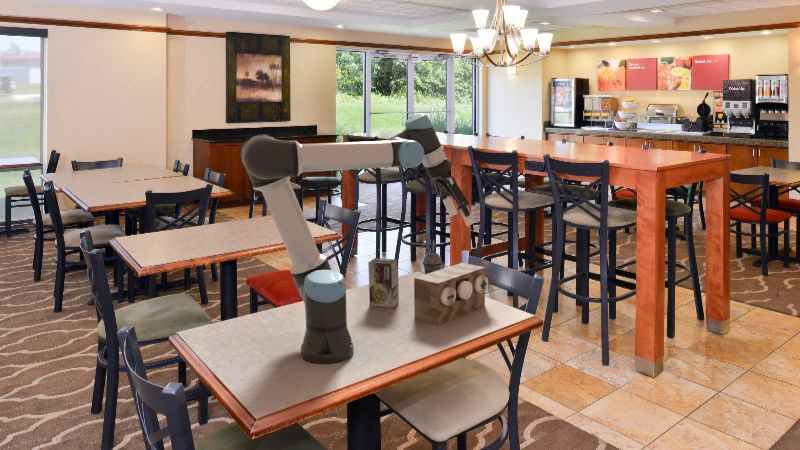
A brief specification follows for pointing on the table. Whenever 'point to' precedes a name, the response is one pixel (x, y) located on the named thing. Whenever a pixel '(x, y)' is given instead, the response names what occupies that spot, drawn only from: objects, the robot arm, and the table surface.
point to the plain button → (464, 290)
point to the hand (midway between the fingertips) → (462, 219)
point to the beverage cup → (432, 262)
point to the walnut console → (448, 293)
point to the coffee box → (383, 282)
